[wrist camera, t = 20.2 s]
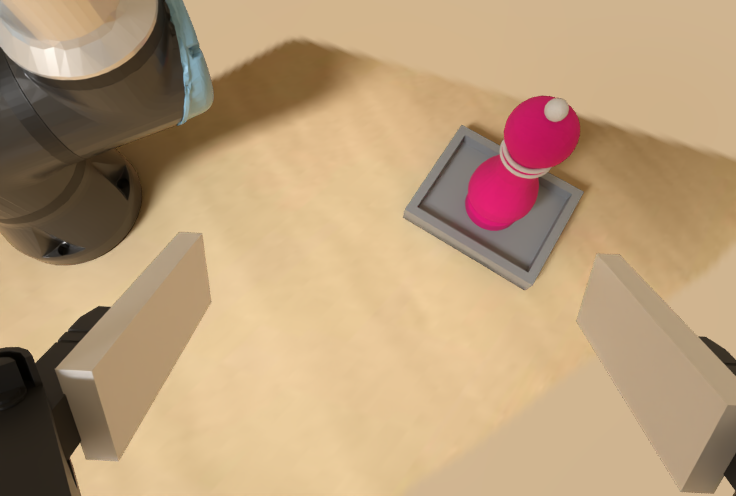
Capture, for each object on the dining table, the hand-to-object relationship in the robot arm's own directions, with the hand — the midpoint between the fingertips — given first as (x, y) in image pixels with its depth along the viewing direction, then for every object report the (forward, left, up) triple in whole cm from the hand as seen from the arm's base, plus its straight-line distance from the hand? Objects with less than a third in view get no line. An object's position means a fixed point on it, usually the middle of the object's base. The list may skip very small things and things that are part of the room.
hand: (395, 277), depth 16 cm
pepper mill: (+2, +22, -35) cm, 41 cm away
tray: (+2, +22, -36) cm, 42 cm away
